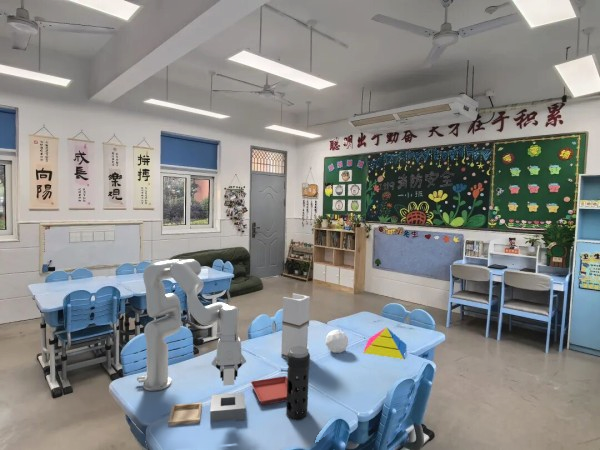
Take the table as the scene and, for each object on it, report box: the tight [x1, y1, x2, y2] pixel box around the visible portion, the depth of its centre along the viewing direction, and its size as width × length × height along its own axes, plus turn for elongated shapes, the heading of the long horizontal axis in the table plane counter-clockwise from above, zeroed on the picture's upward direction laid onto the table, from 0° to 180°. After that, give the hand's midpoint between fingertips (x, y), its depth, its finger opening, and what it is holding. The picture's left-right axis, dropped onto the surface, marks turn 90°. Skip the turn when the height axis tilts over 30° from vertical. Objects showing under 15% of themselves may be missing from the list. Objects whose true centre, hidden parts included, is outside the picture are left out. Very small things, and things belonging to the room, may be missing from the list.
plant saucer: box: [250, 375, 292, 406], centre depth 168 cm, size 18×18×3 cm
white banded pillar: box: [280, 292, 311, 360], centre depth 206 cm, size 11×11×35 cm
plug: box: [222, 365, 235, 386], centre depth 150 cm, size 4×4×8 cm
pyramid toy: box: [362, 327, 407, 360], centre depth 222 cm, size 25×25×14 cm
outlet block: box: [209, 392, 246, 423], centre depth 151 cm, size 14×12×5 cm
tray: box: [167, 401, 203, 427], centre depth 148 cm, size 12×12×2 cm
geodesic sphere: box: [325, 329, 349, 354], centre depth 215 cm, size 14×14×14 cm
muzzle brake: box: [285, 346, 311, 421], centre depth 152 cm, size 10×28×10 cm
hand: (228, 378), depth 150 cm, fingers closed on plug, 4 cm apart
